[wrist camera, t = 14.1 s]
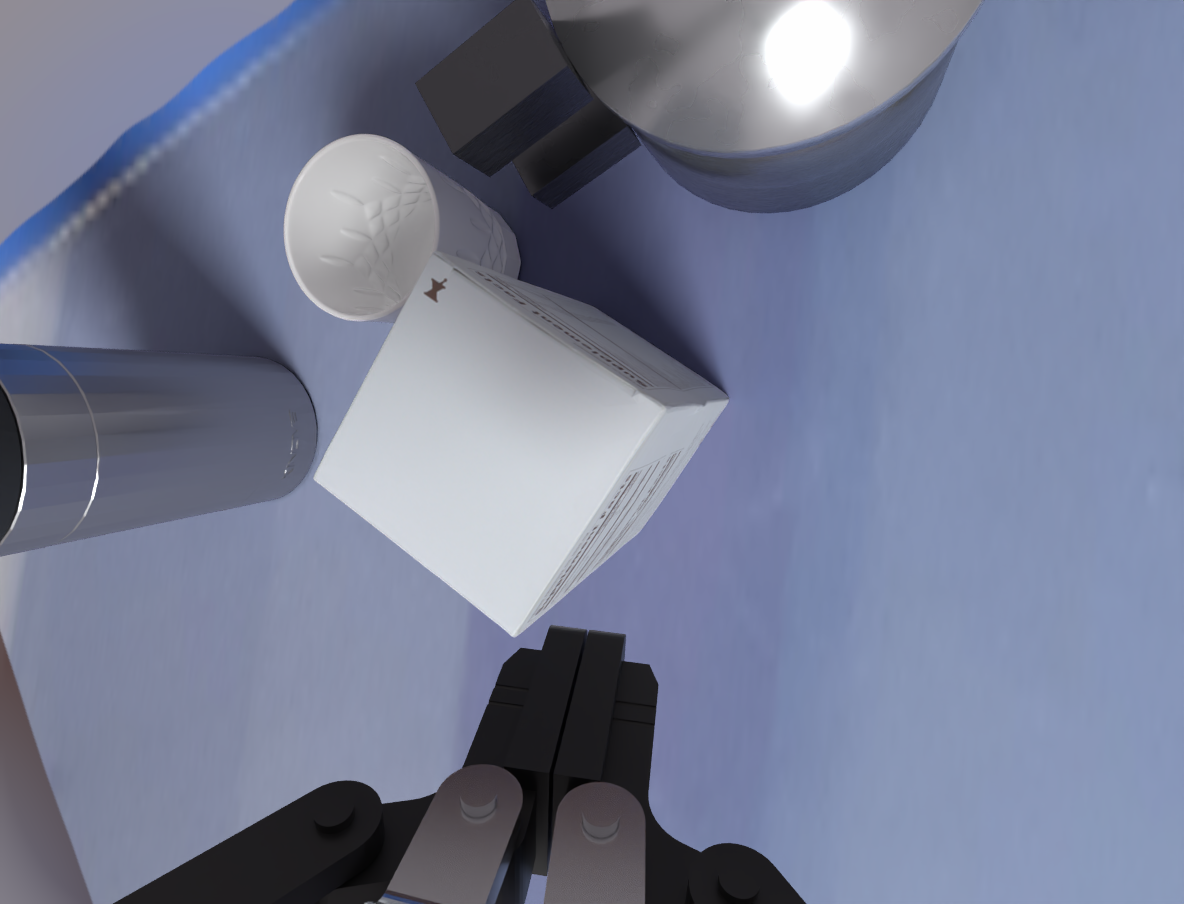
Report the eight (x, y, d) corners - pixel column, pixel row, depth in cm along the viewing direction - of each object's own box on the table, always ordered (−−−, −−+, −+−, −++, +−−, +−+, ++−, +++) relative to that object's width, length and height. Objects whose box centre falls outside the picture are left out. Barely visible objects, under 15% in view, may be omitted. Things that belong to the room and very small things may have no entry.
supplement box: (502, 441, 41) (296, 476, 25) (587, 300, 39) (421, 237, 23) (639, 541, 39) (512, 649, 23) (737, 398, 37) (672, 407, 21)
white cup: (456, 164, 40) (342, 96, 31) (559, 249, 39) (473, 205, 29) (382, 279, 42) (254, 249, 33) (477, 364, 41) (372, 357, 31)
